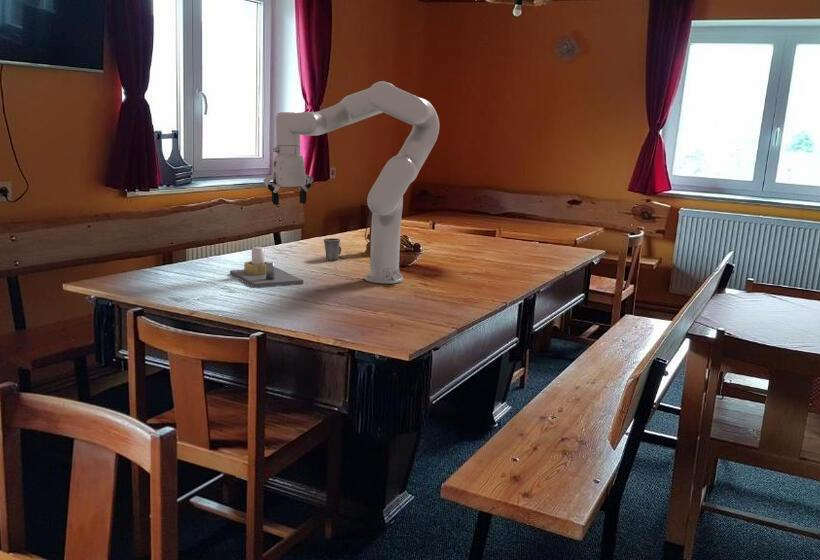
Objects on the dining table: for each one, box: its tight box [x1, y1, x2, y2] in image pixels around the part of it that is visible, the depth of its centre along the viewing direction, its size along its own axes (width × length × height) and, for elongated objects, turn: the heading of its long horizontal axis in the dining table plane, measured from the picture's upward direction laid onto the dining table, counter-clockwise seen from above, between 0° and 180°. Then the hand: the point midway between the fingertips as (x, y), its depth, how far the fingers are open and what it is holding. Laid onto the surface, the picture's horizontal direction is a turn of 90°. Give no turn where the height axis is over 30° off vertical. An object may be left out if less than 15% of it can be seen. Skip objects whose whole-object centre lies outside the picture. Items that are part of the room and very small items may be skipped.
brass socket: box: [243, 260, 269, 275], centre depth 241 cm, size 8×8×3 cm
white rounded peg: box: [251, 246, 265, 265], centre depth 241 cm, size 4×4×8 cm
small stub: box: [266, 261, 276, 280], centre depth 232 cm, size 3×3×5 cm
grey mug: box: [323, 238, 342, 262], centre depth 278 cm, size 6×13×8 cm, turn 172°
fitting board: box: [229, 266, 304, 288], centre depth 238 cm, size 22×16×1 cm
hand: (289, 204), depth 244 cm, fingers open, 9 cm apart
